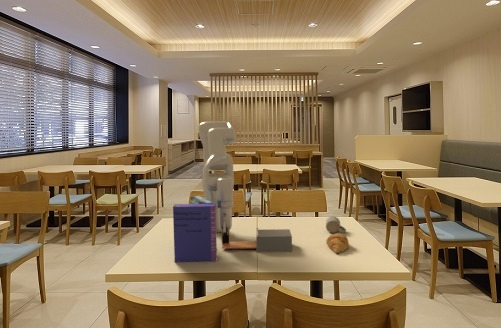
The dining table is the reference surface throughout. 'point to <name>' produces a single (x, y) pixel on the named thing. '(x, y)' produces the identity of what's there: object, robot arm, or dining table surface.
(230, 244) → the orange stepped block
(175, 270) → the dining table surface
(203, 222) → the cereal box
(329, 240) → the croissant
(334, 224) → the ceramic mug
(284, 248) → the grey boxy piece
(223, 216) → the robot arm
